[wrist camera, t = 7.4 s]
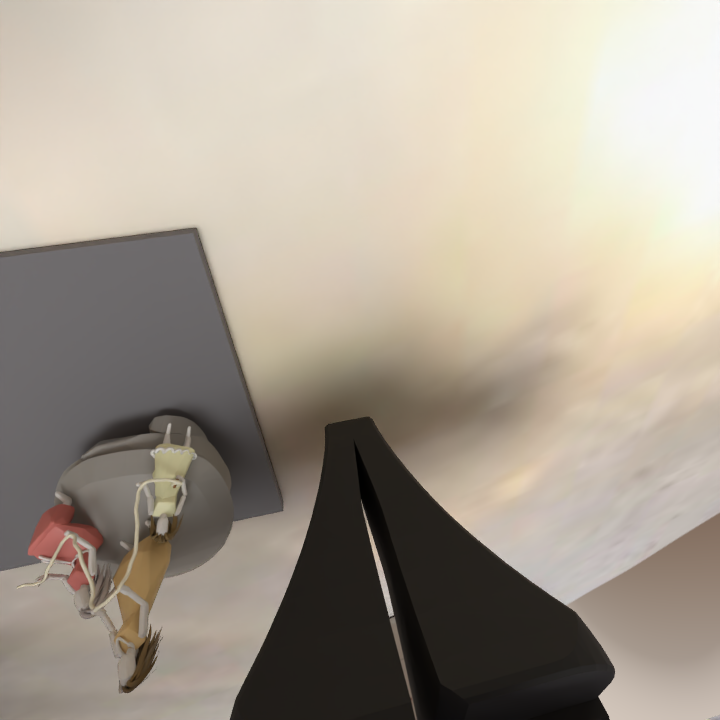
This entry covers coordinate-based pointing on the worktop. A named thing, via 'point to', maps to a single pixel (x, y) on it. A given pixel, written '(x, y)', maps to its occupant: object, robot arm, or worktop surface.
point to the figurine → (135, 528)
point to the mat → (115, 369)
